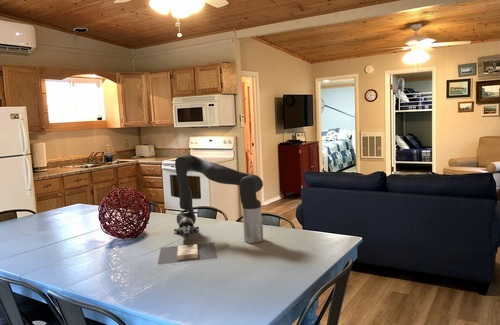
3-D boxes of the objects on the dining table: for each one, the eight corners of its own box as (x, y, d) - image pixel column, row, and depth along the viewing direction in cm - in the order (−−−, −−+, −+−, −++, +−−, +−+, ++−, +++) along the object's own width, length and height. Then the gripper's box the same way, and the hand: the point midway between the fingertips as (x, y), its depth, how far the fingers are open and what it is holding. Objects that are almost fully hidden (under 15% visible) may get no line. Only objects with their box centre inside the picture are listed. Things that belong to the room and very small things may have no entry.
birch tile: (196, 244, 191) (197, 253, 177) (197, 248, 191) (198, 258, 178) (177, 246, 190) (177, 255, 176) (178, 250, 190) (177, 260, 176)
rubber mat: (214, 244, 200) (213, 242, 200) (217, 260, 176) (217, 258, 176) (161, 249, 196) (160, 247, 196) (157, 266, 172) (157, 264, 172)
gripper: (173, 220, 207) (172, 228, 190) (198, 217, 209) (200, 226, 192) (174, 234, 208) (173, 244, 191) (199, 231, 210) (201, 241, 193)
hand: (186, 235), depth 191 cm, fingers closed
